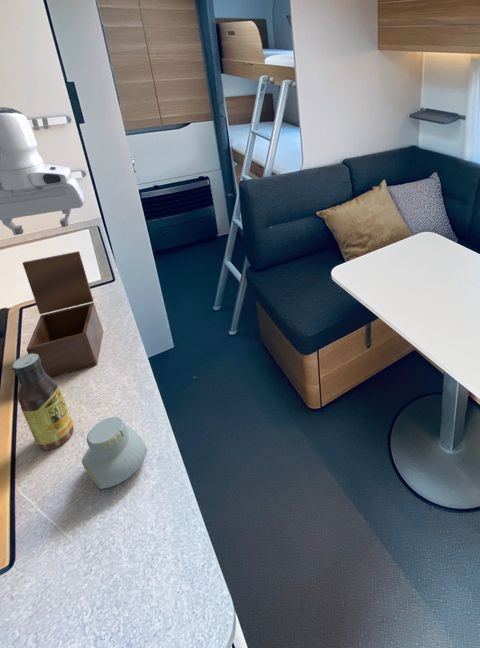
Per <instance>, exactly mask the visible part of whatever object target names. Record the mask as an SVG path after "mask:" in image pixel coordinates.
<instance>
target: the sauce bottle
mask: <svg viewBox="0 0 480 648" xmlns="http://www.w3.org/2000/svg"><path fill="white" fill-rule="evenodd" d="M11 368H12V371H13V373H14V374H15V375H16V376H17V379H18V382H19V384H20V386H19V387H18V391H17V400H18V403H19V405H20V409H21V412H22V414H23V416H24V418H25V421H26V424H27V426H28V428H29V430H30V433H31V435H32V437H33V439H34V441H35V443H36V444H37V445H38V447H39V449H40V450H45V451H46V450H52V449H55V448H57V447H60V446H61V445H63V444H64V443H65V442H66V441H67V440H69V439H70V438H71V436H72V435H73V433H74V421H73V419H72V415H71V413H70V411H69V408H68V405H67V403H66V400H65V397H64V395H63V392H62V390H61V387H60V385H59V383H58V382H57V381H55V380H54V379H53V378H51V377H49V376H48V375H47V374H46V373H45V371H44V370H43V368H42V365H41V359H40V357H39V355H38V354H28V353H27V354H25V355H23V356H21V357H19V358H17V359H16V360H15V361H13V363H12V364H11Z"/></svg>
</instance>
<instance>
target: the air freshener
mask: <svg viewBox="0 0 480 648" xmlns="http://www.w3.org/2000/svg"><path fill="white" fill-rule="evenodd" d="M86 444H87V446H88V449H87V450H86V451H85V453H84V455H83V457H82V459H81V465H82V467H83V468H84V470H85V471H86V473H87V475H88V476H89V477H90V479H91V481H93V483H94V484H95V485H96V486H97V487H98V488H99V489H109V488H111V487H112V488H113V487H115V486H117V485H120V484H121V483H122V482H124V481H126V480H128V479H129V478H130V477H131V476H132V475H134V473H135V472H137V471H138V469H139V468H140V467H141V465H142V464H143V462H144V461H145V459H146V457H147V453H148V447H147V445H146V444H145V442H144V440H143V439H142V437H141V436H140V435H139V434H138V433H137V432H136V431H135V429H133V428H132V427H130V426H126V423H125V421H124V419H123V418H122V417H119V416H110V417H107V418H104V419H102V420H100V421H99V422H97V423H96V424H94V425H93V427H92V428H91V429H90V430H89V431H88V433H87V436H86Z"/></svg>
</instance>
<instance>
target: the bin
mask: <svg viewBox="0 0 480 648" xmlns="http://www.w3.org/2000/svg"><path fill="white" fill-rule="evenodd" d="M103 336H104V329H103V326H102V323H101V320H100V317H99V314H98V311H97V309H96V305H95V303H94V302H89V303H85V304H81V305H77V306H73V307H69V308H64V309H60V310H56V311H52V312H48V313H44V314H40V316H39V318H38V321H37V323H36V326H35V327H34V331H33V333H32V335H31V337H30V339H29V342H28V345H27V347H26V349H25V350H26V353H27V355H28V354H38V355H39V357H40V359H41V365H42V368H43V370H44V371H45V373H46V374H47V375H48V376H49V377H51V378H52V379H53V378H58V377H60V376H61V377H62V376H64V375H68V374H72V373H74V372H78V371H81V370H84V369H87V368H91V367H94V366H97V365H98V362H99V356H100V350H101V346H102V341H103Z"/></svg>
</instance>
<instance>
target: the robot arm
mask: <svg viewBox="0 0 480 648" xmlns="http://www.w3.org/2000/svg"><path fill="white" fill-rule="evenodd" d="M85 203H86V196H85V193H84V191H83V189H82V187H81V184H80V183H79V181H78V179H76V178H75V177H73V176H72V170H71V168H70V167H69V166H62V165H54V164H48V163H47V164H46V163H45V162H44V159H43V158H42V156H41V155H40V153H39V150H38V141H37V139H36V135H35V133H34V130H33V127H32V126H31V123H30V121H29V120H28V118H27V116H26V115H25V114H24V113H22V112H21V111H20V110H17V109H15V108H11V107H2V106H0V221H1V222H2V224H3V226H5V227H7V228H8V229H9V230H11V231H12V235H13V236H19V235H23V234H24V229H23V225H17V224H15V223H14V222H13V219H18V218H24V217H30V216H36V215H43V214H49V213H55V212H62V215H65V216H64V217H63V218H60V220H59V223H60V226H61V227H60V228H66V227H70V225H71V222H70V220H69V217H70V214H71V212H72V210H73V209H80V208H82V207H84V205H85Z"/></svg>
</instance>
